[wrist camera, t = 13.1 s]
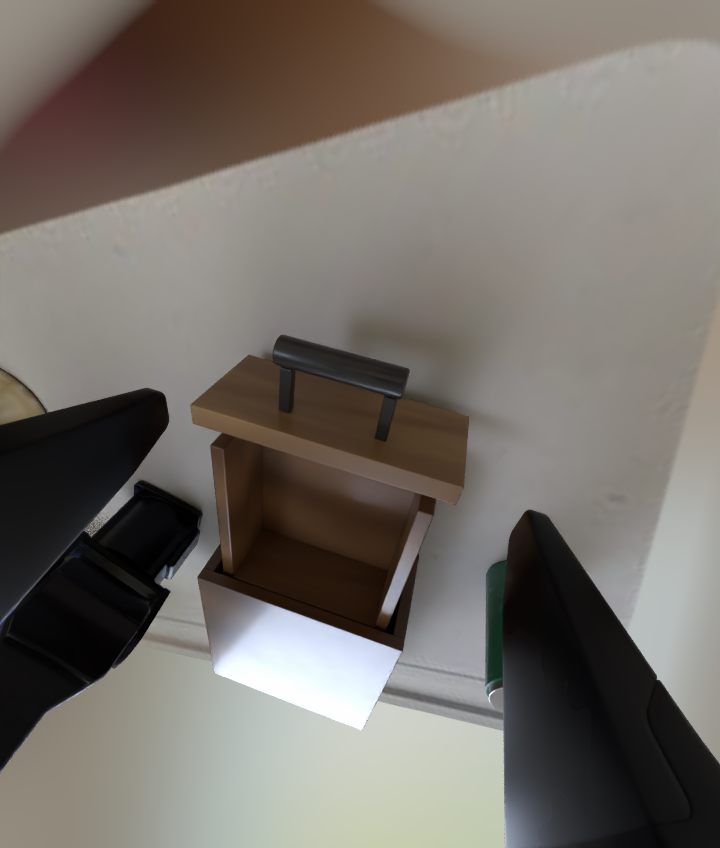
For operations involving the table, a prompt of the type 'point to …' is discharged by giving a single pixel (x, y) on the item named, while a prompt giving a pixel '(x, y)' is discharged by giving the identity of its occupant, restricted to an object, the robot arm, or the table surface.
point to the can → (494, 635)
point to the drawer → (327, 476)
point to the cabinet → (300, 646)
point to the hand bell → (16, 400)
